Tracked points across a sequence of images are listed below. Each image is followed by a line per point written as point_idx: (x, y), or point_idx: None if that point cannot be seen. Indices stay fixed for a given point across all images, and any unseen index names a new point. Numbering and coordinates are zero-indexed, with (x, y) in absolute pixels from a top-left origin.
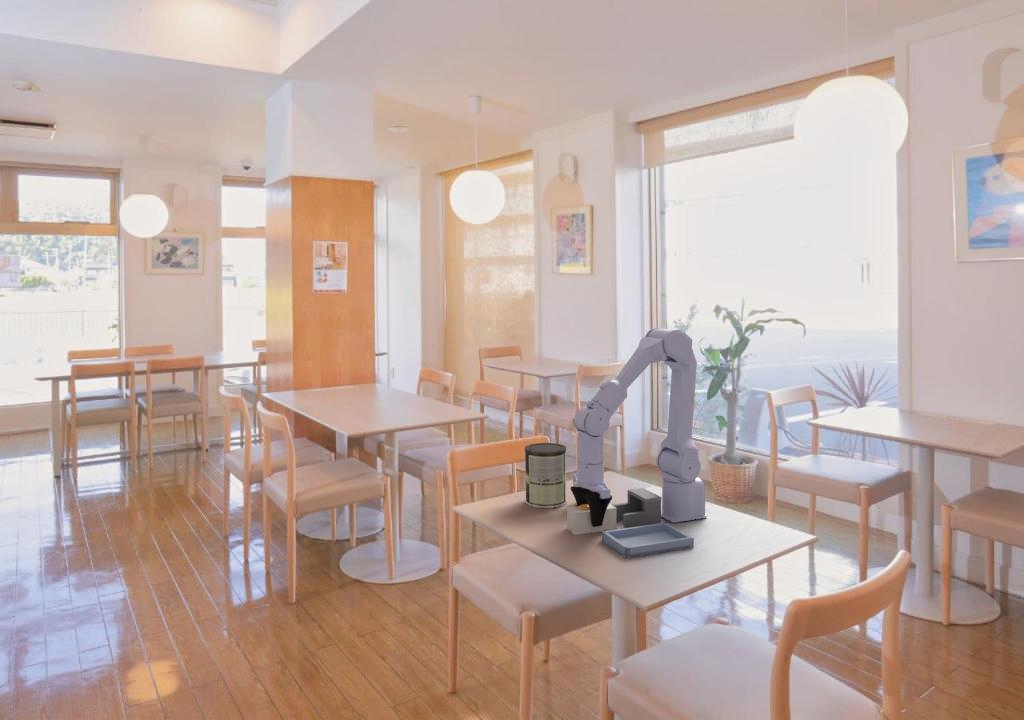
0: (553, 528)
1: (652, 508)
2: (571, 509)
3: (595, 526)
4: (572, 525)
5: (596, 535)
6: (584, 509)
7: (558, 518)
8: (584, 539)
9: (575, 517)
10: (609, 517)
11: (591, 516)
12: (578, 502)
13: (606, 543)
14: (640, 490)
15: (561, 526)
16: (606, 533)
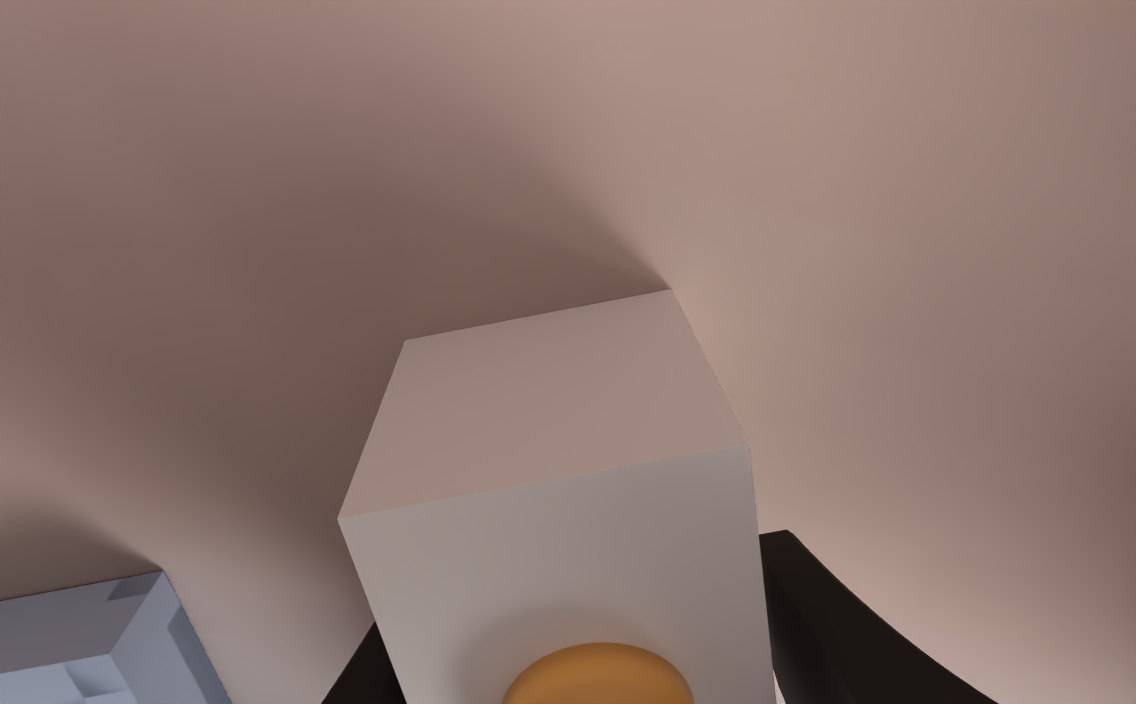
0: (731, 98)
1: None
2: (594, 499)
3: None
4: (491, 365)
5: None
6: (504, 697)
7: (1115, 268)
8: (221, 407)
9: (360, 472)
10: None
11: (343, 699)
12: (845, 695)
13: (48, 596)
14: None
15: (779, 235)
16: (35, 686)
